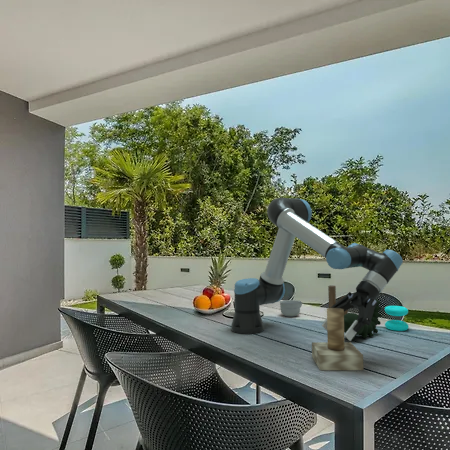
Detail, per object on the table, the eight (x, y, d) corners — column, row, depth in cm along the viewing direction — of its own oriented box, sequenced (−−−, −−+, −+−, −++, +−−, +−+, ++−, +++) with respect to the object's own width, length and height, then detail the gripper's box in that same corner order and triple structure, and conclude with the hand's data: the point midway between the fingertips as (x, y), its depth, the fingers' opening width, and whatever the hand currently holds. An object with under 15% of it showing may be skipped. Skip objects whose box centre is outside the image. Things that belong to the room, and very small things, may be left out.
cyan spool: (399, 304, 180) (412, 308, 170) (399, 325, 179) (413, 331, 170) (380, 305, 178) (392, 309, 168) (380, 326, 178) (393, 332, 168)
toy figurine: (367, 334, 171) (330, 338, 157) (368, 292, 172) (331, 293, 158) (386, 339, 163) (348, 344, 149) (387, 295, 164) (350, 296, 151)
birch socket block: (320, 370, 123) (319, 354, 123) (312, 356, 137) (311, 342, 137) (363, 370, 123) (362, 354, 123) (350, 356, 137) (350, 342, 137)
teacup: (287, 318, 197) (286, 303, 197) (276, 314, 207) (276, 300, 207) (309, 316, 202) (308, 301, 203) (297, 312, 212) (297, 298, 213)
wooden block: (343, 325, 181) (342, 288, 182) (327, 321, 191) (326, 285, 191) (348, 324, 183) (347, 287, 183) (332, 320, 192) (331, 285, 193)
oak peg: (329, 364, 127) (328, 311, 128) (326, 358, 133) (325, 307, 133) (347, 364, 127) (345, 311, 127) (342, 358, 133) (341, 307, 133)
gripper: (403, 299, 123) (365, 350, 118) (355, 288, 147) (322, 330, 142) (389, 284, 122) (350, 335, 117) (343, 275, 146) (309, 317, 141)
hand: (335, 332), depth 130 cm, fingers open, 13 cm apart
